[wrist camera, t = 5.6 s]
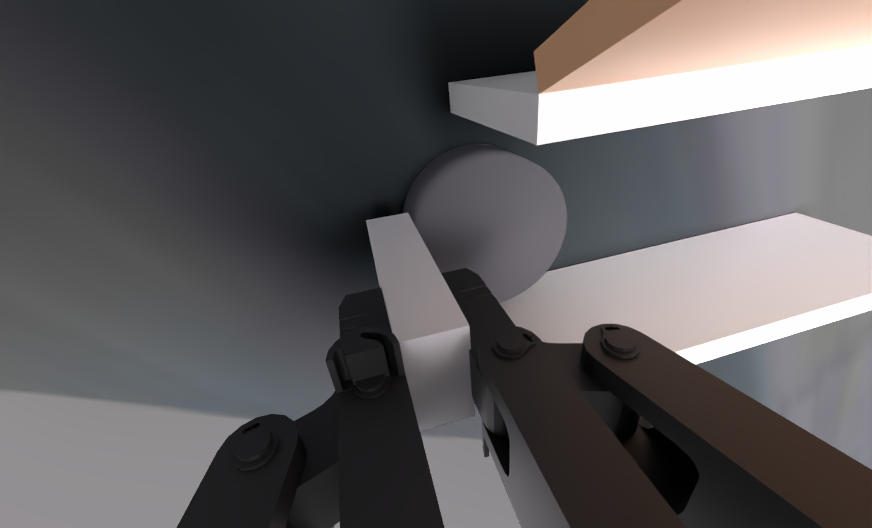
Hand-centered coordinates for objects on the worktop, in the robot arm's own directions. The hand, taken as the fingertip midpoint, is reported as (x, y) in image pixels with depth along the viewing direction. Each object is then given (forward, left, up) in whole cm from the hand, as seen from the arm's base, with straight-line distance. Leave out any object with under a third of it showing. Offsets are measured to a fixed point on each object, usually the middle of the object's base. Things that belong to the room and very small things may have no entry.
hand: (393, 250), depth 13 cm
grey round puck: (0, +4, -2) cm, 4 cm away
